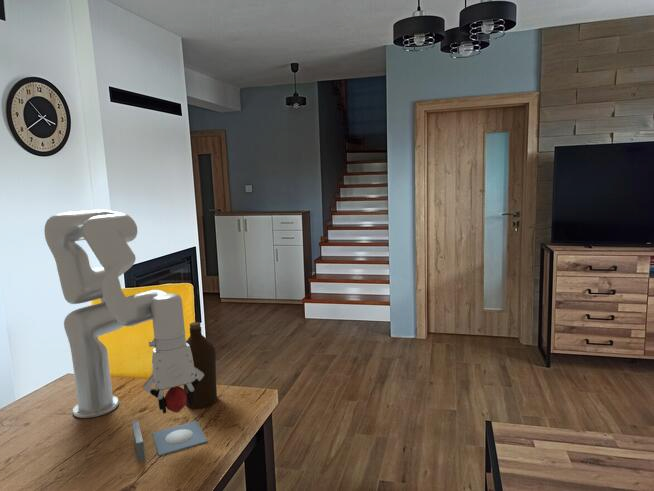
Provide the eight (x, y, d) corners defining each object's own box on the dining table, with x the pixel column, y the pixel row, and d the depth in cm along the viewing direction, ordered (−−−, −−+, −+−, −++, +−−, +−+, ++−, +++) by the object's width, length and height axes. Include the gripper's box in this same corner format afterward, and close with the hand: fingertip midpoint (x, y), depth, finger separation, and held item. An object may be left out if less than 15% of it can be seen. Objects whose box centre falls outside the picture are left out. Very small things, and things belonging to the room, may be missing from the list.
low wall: (133, 439, 124) (131, 421, 123) (139, 437, 125) (137, 420, 124) (138, 462, 114) (136, 443, 113) (145, 460, 114) (143, 441, 113)
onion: (181, 418, 119) (178, 389, 118) (161, 417, 120) (158, 388, 119) (192, 407, 125) (190, 379, 124) (173, 406, 126) (170, 378, 125)
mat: (152, 434, 126) (152, 432, 126) (197, 421, 132) (197, 420, 132) (159, 456, 116) (158, 454, 116) (207, 442, 121) (207, 440, 121)
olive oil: (216, 408, 139) (210, 327, 136) (180, 411, 138) (172, 330, 135) (221, 392, 150) (215, 317, 146) (187, 395, 149) (180, 319, 145)
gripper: (136, 353, 113) (143, 423, 115) (207, 339, 121) (213, 405, 123) (133, 344, 119) (140, 410, 122) (200, 331, 127) (206, 394, 130)
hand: (176, 407), depth 122 cm, fingers closed on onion, 5 cm apart
